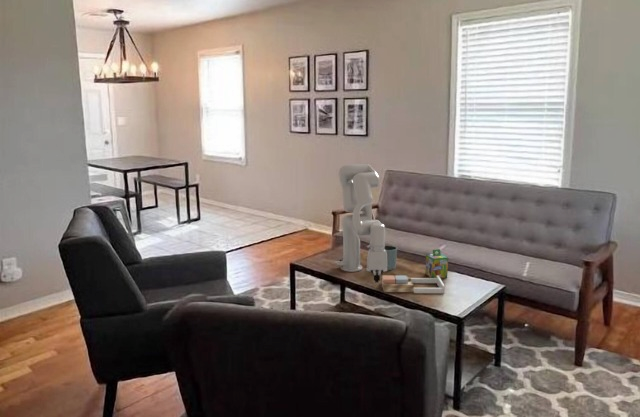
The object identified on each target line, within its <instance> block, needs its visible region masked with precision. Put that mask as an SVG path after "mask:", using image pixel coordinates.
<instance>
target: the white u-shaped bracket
mask: <svg viewBox="0 0 640 417" xmlns="http://www.w3.org/2000/svg"><path fill="white" fill-rule="evenodd" d="M410 278H411V283H412V284H437V286H438V287H414V292H413V293H414V294H445V288H446V286H445V284H444V282H443V281H442V278H440V277H439V275H437V278H431V277H410Z"/></svg>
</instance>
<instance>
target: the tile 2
mask: <svg viewBox="0 0 640 417" xmlns="http://www.w3.org/2000/svg"><path fill="white" fill-rule="evenodd" d="M394 277H395V284H408V278H409V277H408V276H407V275H394Z"/></svg>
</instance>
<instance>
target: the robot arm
mask: <svg viewBox="0 0 640 417" xmlns="http://www.w3.org/2000/svg"><path fill="white" fill-rule="evenodd" d="M338 177H339V183H340V185H341V190H342V206H343V210H344V212H346V213H352V214H346V215H344V216H343V217H342V219H341V227H342V235H343V237H342V238H343V239H342V240H343V241H342V242H343V243H342V245H343V246H342V247H343V248H342V250H343V251H342V252H343V253H342V255H343V256H342V258H343V259H342V260H341V261H338V260H337V261H336V260H335V264H334V265H336V266H340V270H342V271H343V272H351V273H352V272H353V273H354V272H359V271H361V270H363V265H362V264H361V238H360V236H368V235H369V244H368V245H366V248H367V249H368V252H367V257H366V272H370V273H372V274H373V281H374V282H375V283H376V284H377V283H378V284H379V281H381V276H382V273H384V272H387V271H388V270H387V252H386V250H385V245H386V244H385V243H386V225H385V224H384V223H381V221H380V220H378V219H373V209H372V206H373V205H372V203H373V202H374V197H373V192H372V189H375V188H376V189H377V188H378V187H379V186H380V183H381V179H380V176H379V173H377V171H376V170H375V169H374V168H373V167H372V165H370V164H368V163H352V164H345V165H342V166H341V167H340V168H339V170H338ZM376 271H377V272H376Z"/></svg>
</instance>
